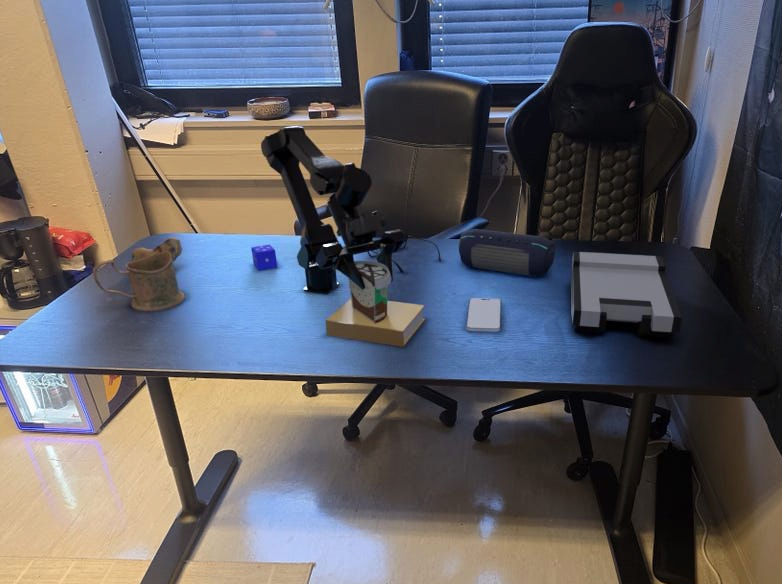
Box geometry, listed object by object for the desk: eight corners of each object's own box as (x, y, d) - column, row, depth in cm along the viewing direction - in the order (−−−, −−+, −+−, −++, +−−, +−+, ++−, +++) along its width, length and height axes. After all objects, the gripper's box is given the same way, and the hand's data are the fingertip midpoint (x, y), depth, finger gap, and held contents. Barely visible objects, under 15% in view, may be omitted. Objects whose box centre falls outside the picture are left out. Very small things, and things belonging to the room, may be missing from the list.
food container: (404, 318, 130) (402, 273, 125) (378, 326, 127) (376, 280, 122) (373, 299, 138) (371, 255, 134) (349, 305, 135) (345, 261, 130)
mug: (95, 309, 142) (80, 258, 136) (170, 287, 153) (159, 239, 148) (117, 324, 135) (102, 272, 129) (194, 300, 147) (183, 251, 141)
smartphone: (465, 327, 132) (469, 297, 145) (465, 332, 133) (469, 302, 146) (500, 328, 132) (501, 298, 145) (500, 333, 132) (501, 303, 145)
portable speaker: (452, 270, 164) (452, 233, 159) (465, 258, 172) (466, 222, 167) (546, 284, 156) (550, 245, 151) (556, 270, 164) (559, 233, 159)
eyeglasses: (408, 245, 181) (408, 232, 179) (445, 259, 171) (445, 245, 169) (362, 259, 171) (361, 245, 169) (398, 274, 161) (397, 260, 159)
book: (326, 335, 131) (325, 320, 129) (353, 310, 142) (352, 296, 140) (403, 347, 126) (402, 331, 125) (424, 319, 137) (424, 305, 136)
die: (258, 271, 163) (255, 252, 161) (253, 265, 167) (250, 247, 164) (277, 267, 165) (275, 249, 163) (272, 262, 169) (269, 244, 167)
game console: (570, 341, 129) (574, 304, 125) (570, 283, 156) (573, 251, 152) (675, 349, 126) (683, 311, 122) (656, 288, 153) (661, 256, 149)
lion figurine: (188, 267, 166) (181, 234, 161) (185, 274, 161) (178, 240, 157) (128, 271, 163) (119, 237, 158) (123, 279, 158) (114, 244, 154)
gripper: (316, 205, 119) (348, 277, 117) (400, 190, 129) (431, 257, 126) (303, 234, 129) (332, 302, 126) (382, 219, 138) (410, 281, 136)
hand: (377, 285), depth 128 cm, fingers closed on food container, 6 cm apart
